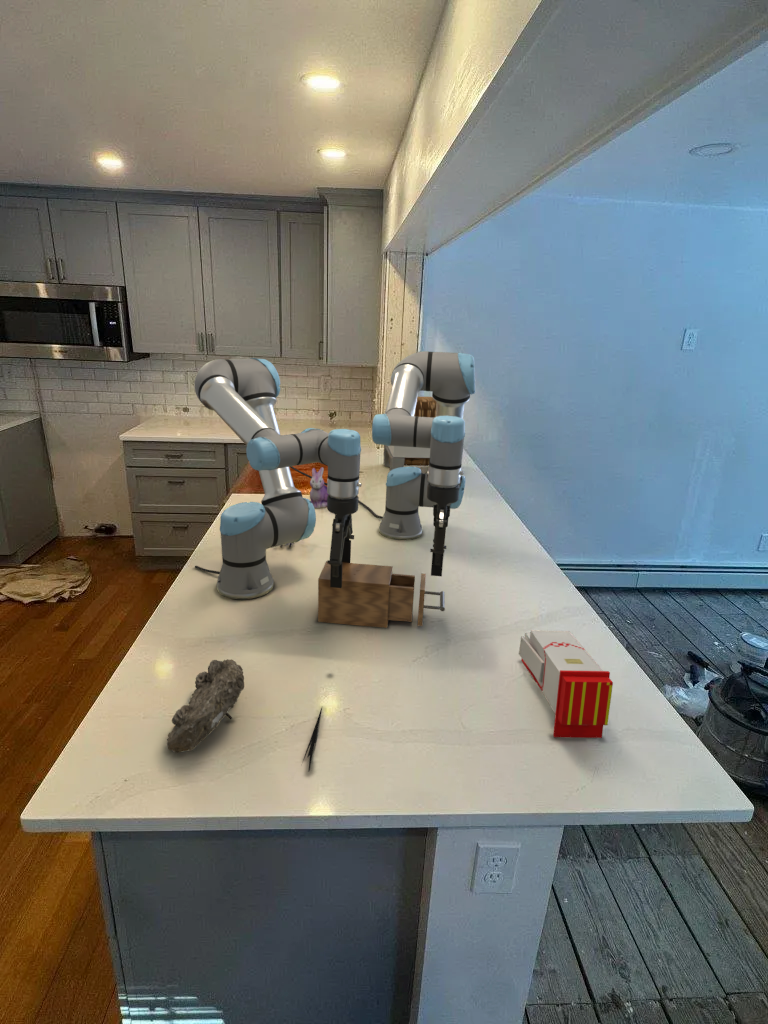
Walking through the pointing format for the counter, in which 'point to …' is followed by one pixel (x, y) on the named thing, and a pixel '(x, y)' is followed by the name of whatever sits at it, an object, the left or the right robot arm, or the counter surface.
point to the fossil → (206, 705)
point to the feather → (313, 740)
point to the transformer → (411, 455)
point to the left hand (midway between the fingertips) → (340, 574)
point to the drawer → (409, 598)
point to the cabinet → (355, 595)
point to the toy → (568, 682)
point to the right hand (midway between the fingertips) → (436, 574)
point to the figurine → (318, 489)
